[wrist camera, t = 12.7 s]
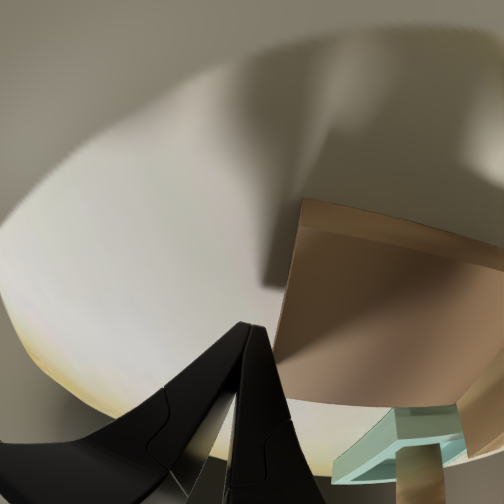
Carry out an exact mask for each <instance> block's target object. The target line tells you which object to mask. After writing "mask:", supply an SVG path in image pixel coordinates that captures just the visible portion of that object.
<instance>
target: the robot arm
mask: <svg viewBox="0 0 504 504" xmlns="http://www.w3.org/2000/svg"><path fill="white" fill-rule="evenodd" d="M235 394H236V399H235V407H234V415H233V423H232V431H231V439H230V447H229V455H228V463H227V471H226V479H225V488H224V495H223V504H327V502H326V501H325V499H324V497H323V495H322V493H321V491H320V489H319V487H318V485H317V482H316V480H315V478H314V476H313V474H312V472H311V470H310V468H309V466H308V464H307V461H306V459H305V456H304V454H303V452H302V449H301V447H300V444H299V441H298V438H297V435H296V432H295V428H294V425H293V422H292V420H291V415H290V412H289V408H288V405H287V401H286V398H285V394H284V391H283V387H282V384H281V380H280V377H279V373H278V370H277V366H276V363H275V359H274V355H273V352H272V348H271V345H270V341H269V338H268V334H267V331H266V328H265V327H264V326H259V325H255V324H253V325H252V324H250V323H245V322H241V321H240V322H238V323H237V324H236V325H234V326H233V327H232V328H231V329H230V330H229V331H228V332H227V333H225V334H224V335H223V336H222V337H221V338H220V339H219V340H217V341H216V342H215V343H214V344H213V345H212V346H211V347H209V348H208V349H207V350H206V351H205V352H204V353H203V354H201V355H200V356H199V357H198V358H197V359H196V360H194V361H193V362H192V363H191V364H190V365H188V366H187V367H186V368H185V369H184V370H183V371H181V372H180V373H179V374H178V375H177V376H175V377H174V378H173V379H172V380H171V381H169V382H168V383H167V384H166V385H164V388H161V389H159V390H158V391H157V392H156V393H154V394H153V395H152V396H151V397H149V398H148V399H147V400H145V401H144V402H143V403H141V404H140V405H138V406H137V407H135V408H134V409H132V410H131V411H129V412H127V413H126V414H124V415H122V416H121V417H119V418H117V419H115V420H114V421H112V422H110V423H109V424H107V425H105V426H103V427H101V428H99V429H98V430H96V431H94V432H92V433H90V434H88V435H86V436H84V437H81V438H79V439H75V440H71V441H66V442H54V443H33V444H32V443H31V444H12V443H11V444H10V443H3V442H2V441H1V440H0V504H185V503H186V501H187V499H188V498H187V497H189V495H190V493H191V491H192V488H193V487H194V485H195V483H196V481H197V478H198V476H199V474H200V472H201V470H202V468H203V466H204V464H205V462H206V460H207V457H208V455H209V453H210V451H211V449H212V447H213V444H214V442H215V440H216V438H217V436H218V433H219V431H220V429H221V427H222V424H223V422H224V420H225V418H226V415H227V413H228V411H229V408H230V406H231V404H232V401H233V399H234V397H235Z"/></svg>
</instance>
